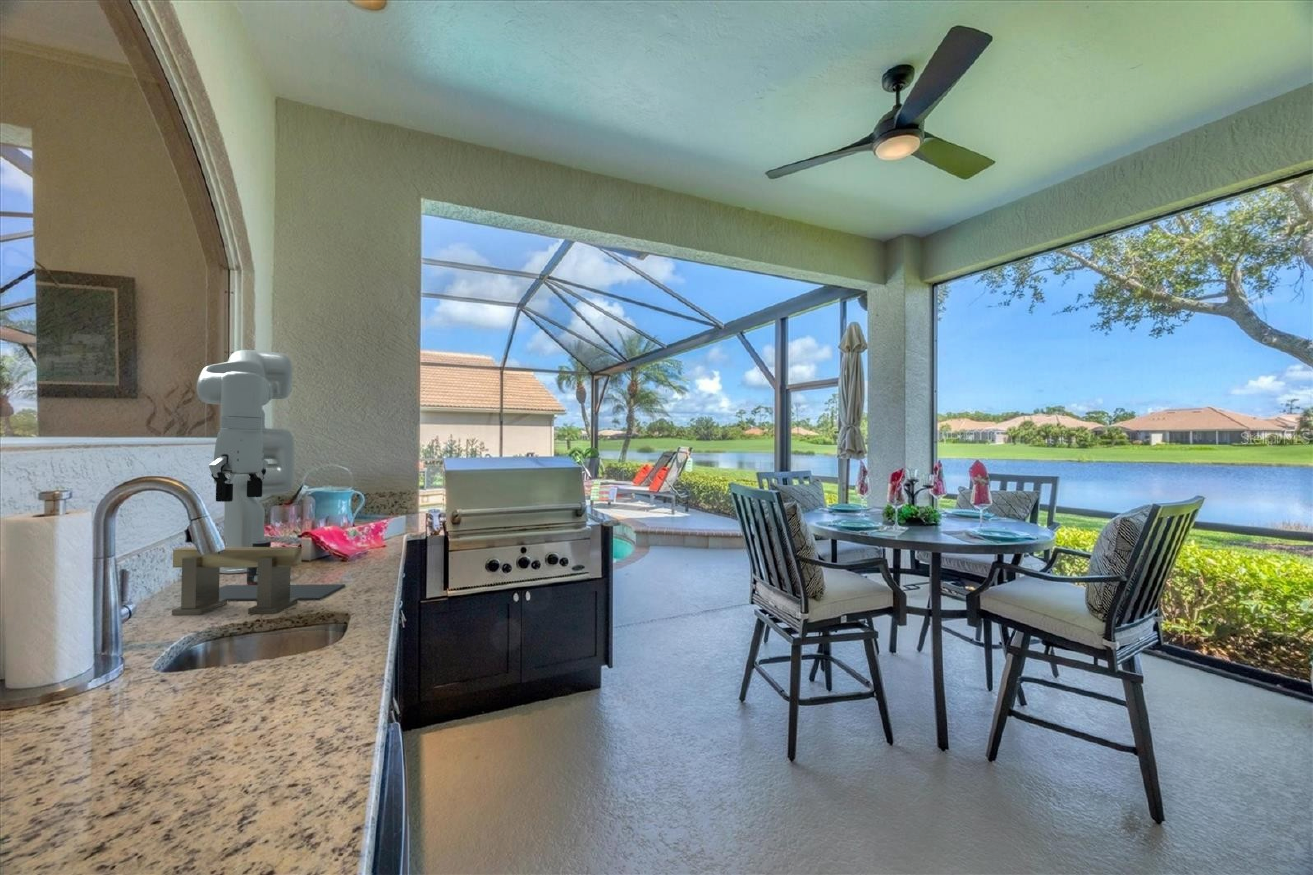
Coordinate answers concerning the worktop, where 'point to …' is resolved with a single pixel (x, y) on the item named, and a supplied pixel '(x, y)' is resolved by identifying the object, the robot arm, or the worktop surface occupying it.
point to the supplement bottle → (253, 571)
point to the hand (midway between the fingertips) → (239, 499)
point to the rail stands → (204, 597)
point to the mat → (295, 591)
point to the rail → (241, 556)
